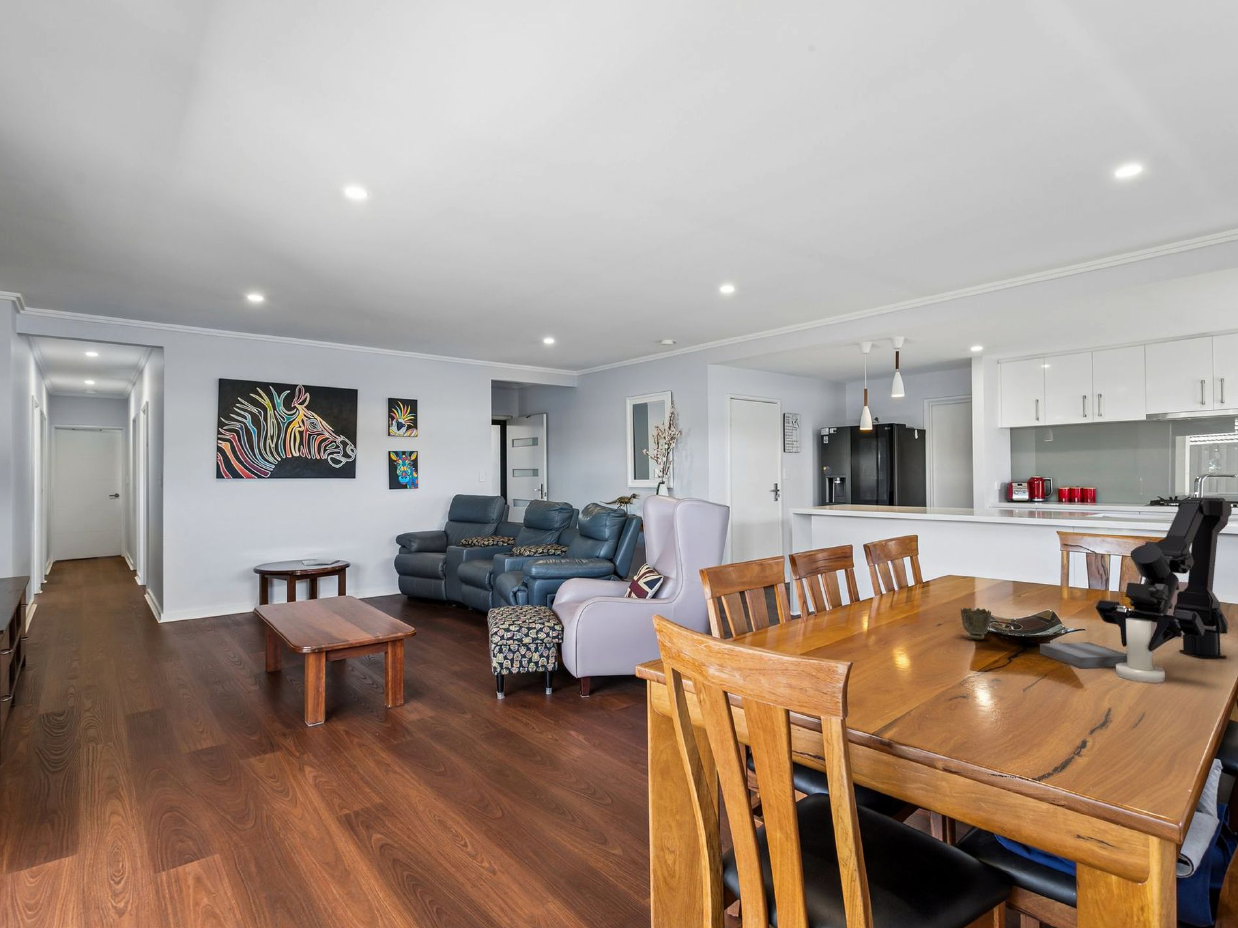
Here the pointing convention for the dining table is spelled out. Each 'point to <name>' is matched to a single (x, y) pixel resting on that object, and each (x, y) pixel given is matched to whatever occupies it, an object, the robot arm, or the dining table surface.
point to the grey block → (1083, 654)
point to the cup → (976, 622)
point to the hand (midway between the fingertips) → (1136, 647)
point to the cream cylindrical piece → (1139, 654)
